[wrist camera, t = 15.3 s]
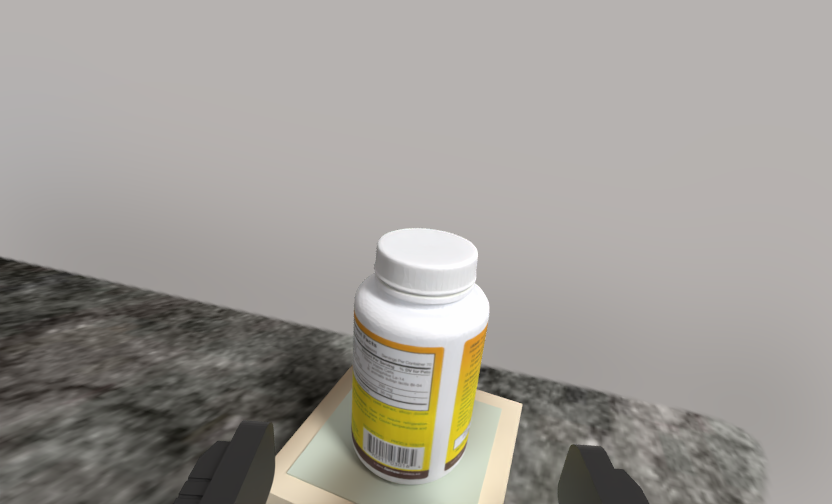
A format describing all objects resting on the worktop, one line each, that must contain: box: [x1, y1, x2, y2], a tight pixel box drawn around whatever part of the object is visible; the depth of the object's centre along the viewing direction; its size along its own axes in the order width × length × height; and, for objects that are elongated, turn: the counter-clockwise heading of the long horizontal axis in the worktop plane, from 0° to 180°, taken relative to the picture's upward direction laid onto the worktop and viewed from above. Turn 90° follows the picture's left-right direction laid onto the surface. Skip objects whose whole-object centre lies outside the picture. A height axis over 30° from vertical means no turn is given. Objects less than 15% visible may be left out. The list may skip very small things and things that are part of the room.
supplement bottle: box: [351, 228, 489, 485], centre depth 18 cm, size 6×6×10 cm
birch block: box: [266, 365, 522, 504], centre depth 21 cm, size 10×10×2 cm
